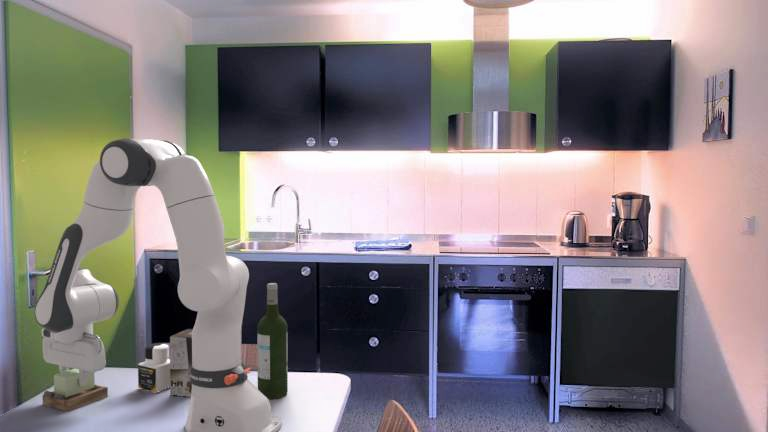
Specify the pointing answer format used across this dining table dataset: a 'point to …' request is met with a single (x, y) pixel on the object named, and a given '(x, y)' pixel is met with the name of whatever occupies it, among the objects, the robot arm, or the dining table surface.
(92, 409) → the dining table surface
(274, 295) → the wine bottle
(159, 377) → the medicine bottle
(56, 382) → the pale green box
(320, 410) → the dining table surface
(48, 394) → the wooden footed tray
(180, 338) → the coffee box
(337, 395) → the dining table surface
